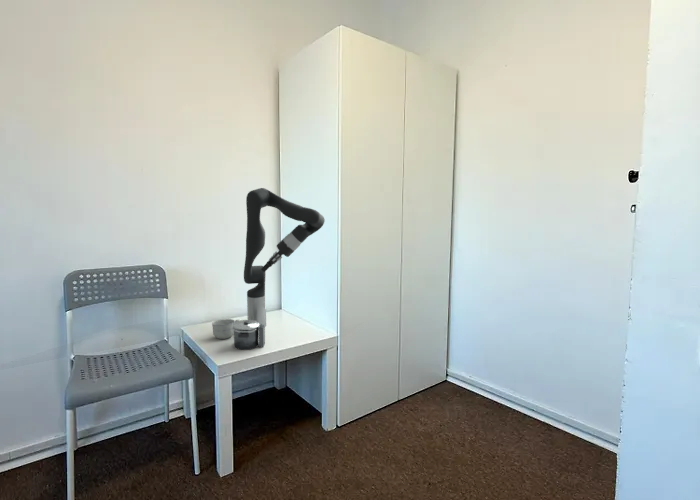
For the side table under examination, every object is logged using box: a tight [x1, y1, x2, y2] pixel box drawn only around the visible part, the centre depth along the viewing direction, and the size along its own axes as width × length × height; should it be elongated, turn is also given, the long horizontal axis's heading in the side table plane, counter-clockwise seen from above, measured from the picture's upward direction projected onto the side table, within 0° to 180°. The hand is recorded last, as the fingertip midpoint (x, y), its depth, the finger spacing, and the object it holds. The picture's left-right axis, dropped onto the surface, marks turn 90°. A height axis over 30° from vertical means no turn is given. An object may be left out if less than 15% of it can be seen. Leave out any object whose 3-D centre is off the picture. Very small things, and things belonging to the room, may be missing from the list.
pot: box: [233, 324, 266, 351], centre depth 188 cm, size 14×14×9 cm
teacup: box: [211, 318, 240, 340], centre depth 200 cm, size 14×11×8 cm
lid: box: [233, 319, 259, 331], centre depth 188 cm, size 12×12×2 cm
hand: (262, 270), depth 185 cm, fingers closed
